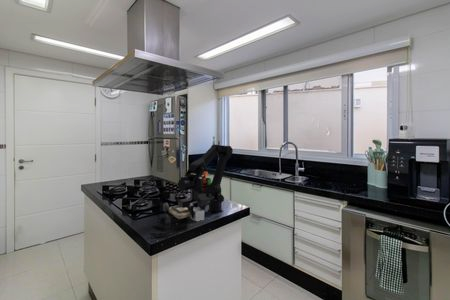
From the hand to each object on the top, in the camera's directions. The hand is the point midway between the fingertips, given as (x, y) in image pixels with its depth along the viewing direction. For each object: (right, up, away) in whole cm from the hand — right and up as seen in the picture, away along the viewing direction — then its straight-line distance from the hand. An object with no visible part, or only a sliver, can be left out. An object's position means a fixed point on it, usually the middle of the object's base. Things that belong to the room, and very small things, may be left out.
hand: (197, 217), depth 118 cm
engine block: (0, -1, 0) cm, 1 cm away
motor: (+1, +1, +28) cm, 28 cm away
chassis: (-9, 0, +11) cm, 14 cm away
